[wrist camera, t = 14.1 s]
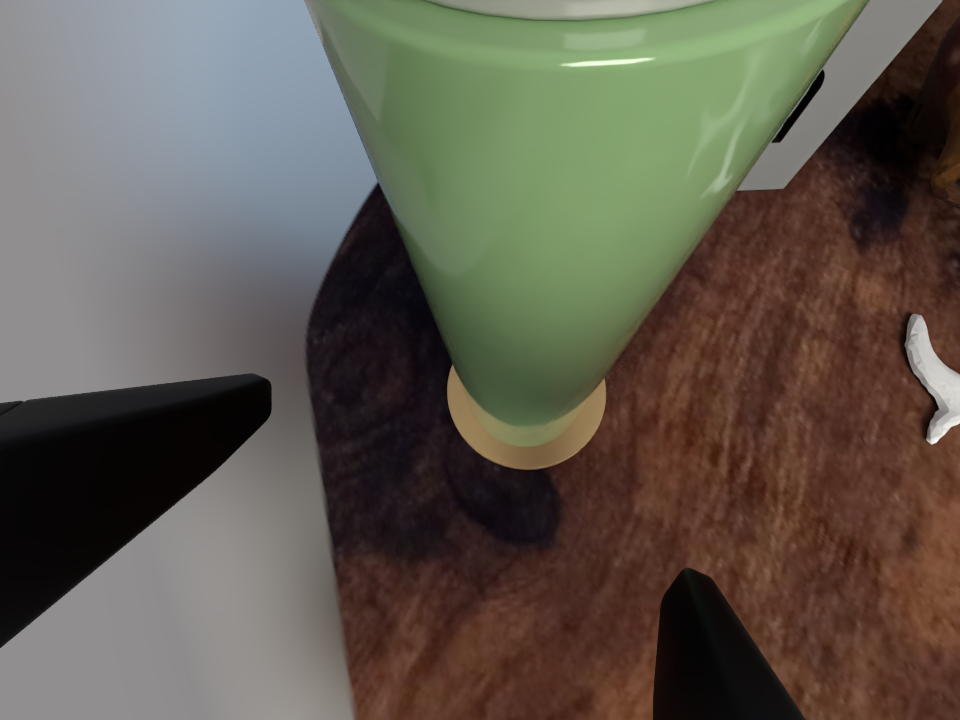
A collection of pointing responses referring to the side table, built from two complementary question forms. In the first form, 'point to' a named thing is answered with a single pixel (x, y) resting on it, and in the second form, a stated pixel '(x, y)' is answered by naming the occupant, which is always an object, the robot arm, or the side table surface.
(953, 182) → the ocarina
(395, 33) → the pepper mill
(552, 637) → the side table surface
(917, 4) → the icon cube
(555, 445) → the coaster
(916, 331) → the tree stump
